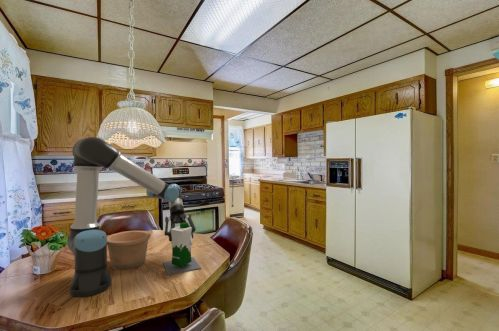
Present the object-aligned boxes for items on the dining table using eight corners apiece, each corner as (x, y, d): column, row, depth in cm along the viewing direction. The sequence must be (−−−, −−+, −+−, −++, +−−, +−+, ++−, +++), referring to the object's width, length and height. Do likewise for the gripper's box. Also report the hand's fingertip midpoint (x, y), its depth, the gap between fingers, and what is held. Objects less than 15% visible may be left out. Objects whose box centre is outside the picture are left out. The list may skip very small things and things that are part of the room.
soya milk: (194, 261, 131) (193, 223, 131) (181, 268, 123) (181, 227, 123) (181, 258, 135) (181, 221, 135) (168, 264, 127) (168, 225, 127)
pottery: (117, 276, 119) (117, 245, 119) (97, 264, 132) (97, 237, 132) (158, 261, 136) (158, 235, 136) (137, 252, 150) (137, 228, 149)
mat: (167, 275, 120) (167, 274, 120) (163, 263, 134) (163, 262, 134) (200, 268, 127) (200, 267, 127) (193, 257, 141) (193, 257, 141)
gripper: (194, 210, 149) (201, 245, 134) (156, 213, 139) (159, 252, 125) (196, 202, 144) (204, 238, 130) (157, 205, 134) (161, 244, 120)
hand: (182, 245), depth 127 cm, fingers closed on soya milk, 8 cm apart
